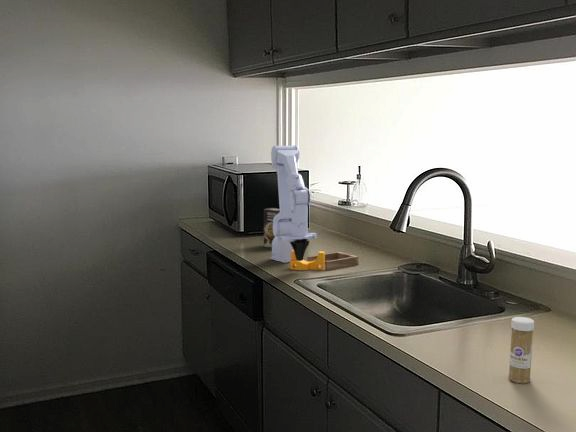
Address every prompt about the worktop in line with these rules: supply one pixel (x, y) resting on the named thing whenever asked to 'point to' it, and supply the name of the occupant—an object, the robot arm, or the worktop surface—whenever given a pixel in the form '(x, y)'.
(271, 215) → the coffee box
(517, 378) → the sprinkles bottle
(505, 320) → the worktop surface
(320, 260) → the pipe clamp
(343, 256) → the brown wooden tray
